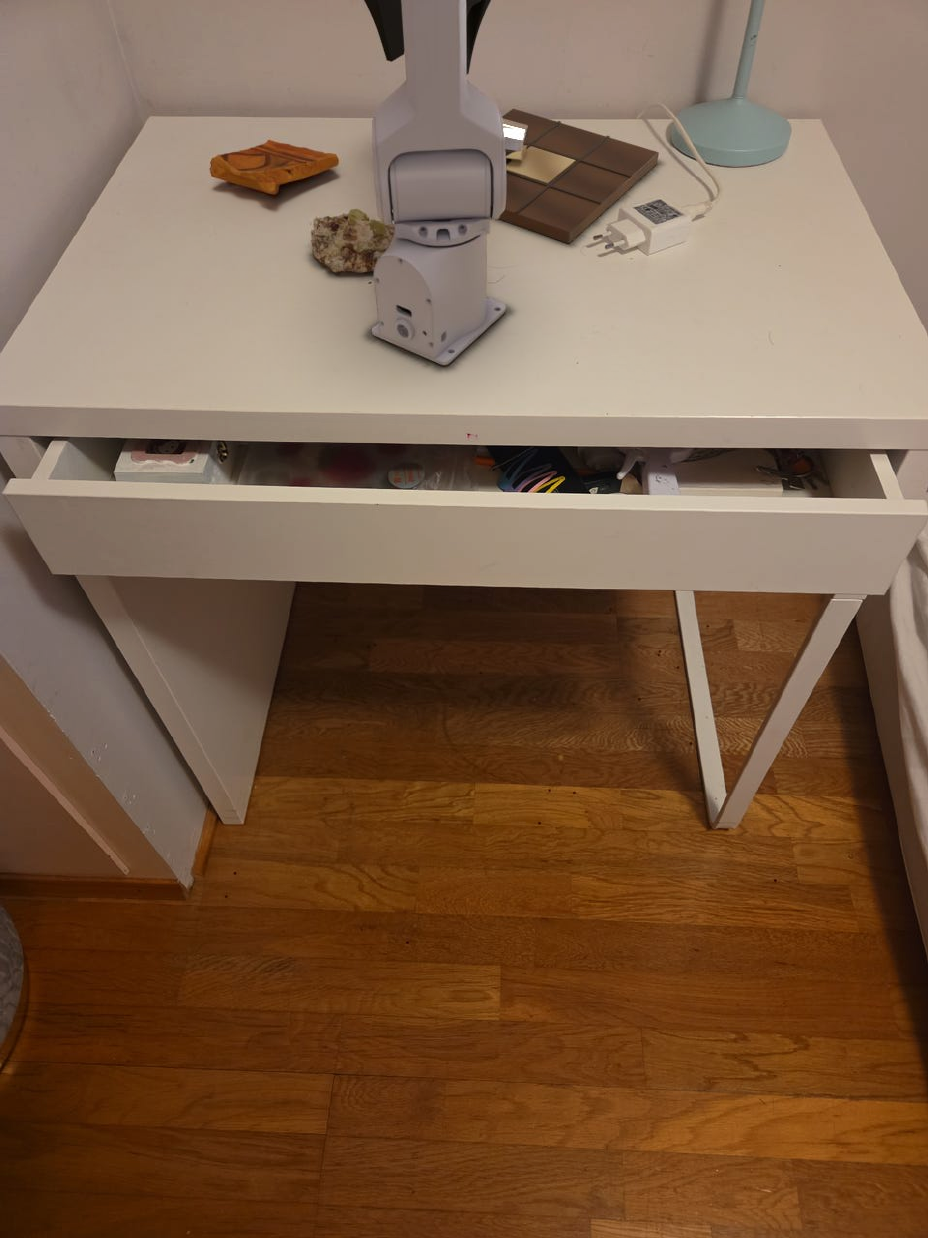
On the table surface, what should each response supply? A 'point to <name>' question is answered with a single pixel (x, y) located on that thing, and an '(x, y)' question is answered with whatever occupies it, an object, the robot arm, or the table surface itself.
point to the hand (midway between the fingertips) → (427, 66)
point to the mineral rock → (350, 241)
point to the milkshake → (515, 140)
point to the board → (568, 176)
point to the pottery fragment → (270, 165)
